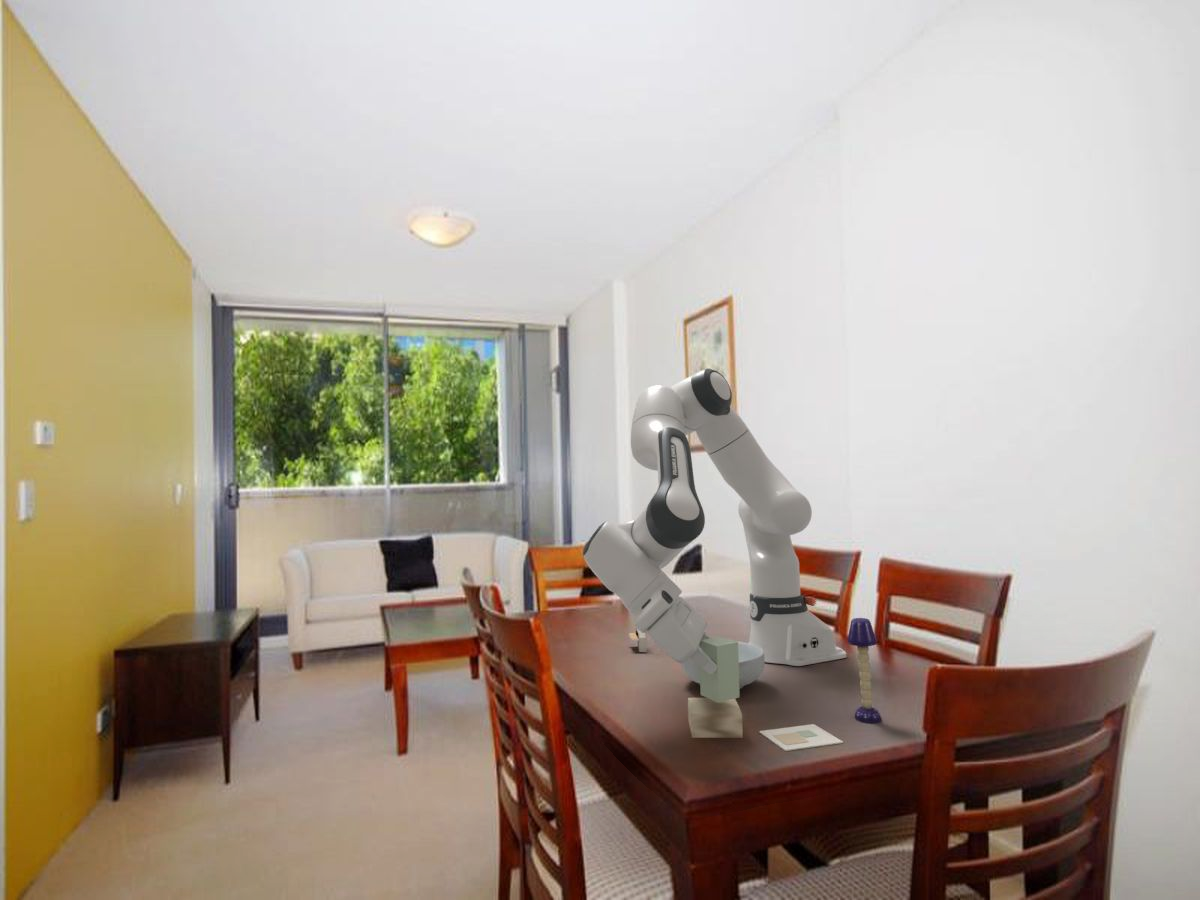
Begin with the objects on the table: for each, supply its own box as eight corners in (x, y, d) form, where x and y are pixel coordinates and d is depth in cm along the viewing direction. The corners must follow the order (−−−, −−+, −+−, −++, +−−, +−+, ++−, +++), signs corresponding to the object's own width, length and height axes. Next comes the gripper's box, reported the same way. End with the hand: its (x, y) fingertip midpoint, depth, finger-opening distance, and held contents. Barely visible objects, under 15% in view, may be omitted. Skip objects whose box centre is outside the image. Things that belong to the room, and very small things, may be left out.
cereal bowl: (678, 673, 143) (678, 640, 143) (758, 673, 142) (756, 639, 142) (682, 699, 126) (682, 661, 126) (772, 699, 125) (771, 660, 125)
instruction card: (813, 725, 111) (813, 723, 111) (843, 743, 103) (843, 741, 103) (759, 732, 109) (759, 730, 109) (785, 751, 101) (785, 749, 101)
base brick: (735, 721, 115) (734, 697, 115) (742, 739, 107) (742, 713, 107) (688, 721, 115) (687, 697, 115) (692, 739, 107) (691, 713, 107)
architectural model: (632, 655, 161) (632, 623, 161) (629, 648, 168) (628, 618, 168) (647, 654, 161) (646, 623, 162) (642, 647, 168) (642, 617, 169)
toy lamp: (865, 725, 111) (861, 623, 111) (844, 716, 115) (840, 618, 116) (887, 720, 113) (882, 620, 113) (865, 712, 117) (862, 615, 118)
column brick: (721, 690, 114) (720, 636, 114) (739, 697, 110) (738, 642, 110) (700, 694, 112) (699, 640, 112) (718, 702, 108) (716, 646, 108)
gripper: (654, 604, 125) (709, 660, 122) (632, 628, 105) (696, 696, 102) (678, 580, 124) (733, 636, 121) (660, 600, 104) (725, 668, 101)
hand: (716, 664), depth 111 cm, fingers closed on column brick, 6 cm apart
